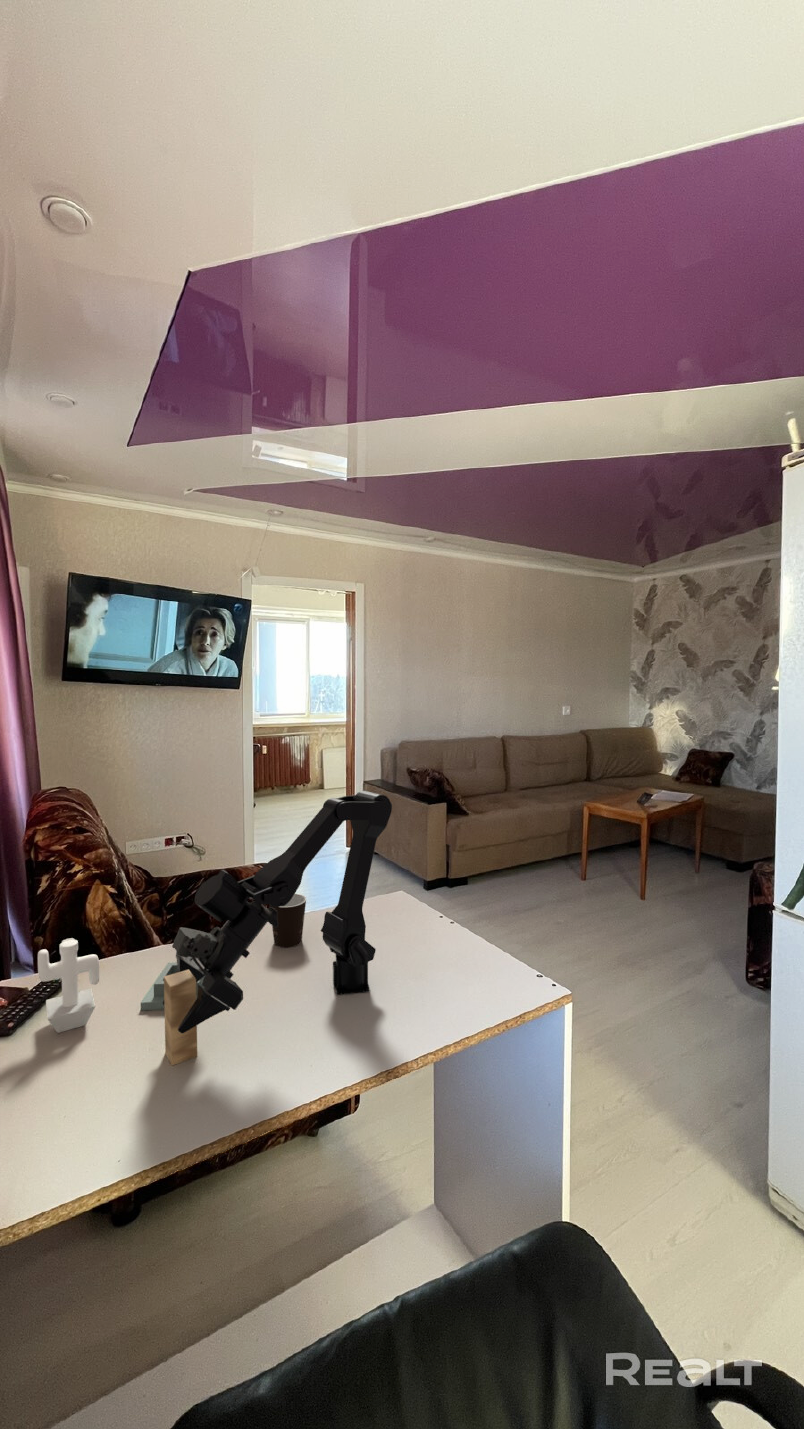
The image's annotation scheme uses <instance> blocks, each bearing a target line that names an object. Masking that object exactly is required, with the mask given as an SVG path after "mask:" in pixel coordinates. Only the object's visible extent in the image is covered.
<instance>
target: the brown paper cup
mask: <svg viewBox="0 0 804 1429" xmlns="http://www.w3.org/2000/svg"><path fill="white" fill-rule="evenodd" d="M268 905H269V904H268ZM306 905H307V897H306V896H305V895H303V894H300V893H295V894H294V896H293V897H292V899H291V900H290V902H288V903H287V904H286V905H285V906H280V907H273V906H271V905H269V908H271V907H272V908H274V909H275V910H276V911H277V912H278V913H277V919H278V927H274V926H273V925H271V927H272V936H273V944H274V945H275V946H276V947H279V948H285V949H286V948H293V947H296V946H298V945H300V944H301V943H302V940H303V932H304V930H303V929H304V923H305V913H306Z"/></svg>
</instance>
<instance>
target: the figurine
mask: <svg viewBox="0 0 804 1429" xmlns="http://www.w3.org/2000/svg"><path fill="white" fill-rule="evenodd" d="M78 941H79V940H77V939H75V938H73V937H71V938H66V939H63V940H61V943H60V944H59V955H60V960H59V961H57V962H54V963H53V962H52V963H50V957H49V956H50V954H49V951H48V950H47V949H46V948H45V949H40V950H39V951H38V952H37V973H38V979H39V981H41V982H43V983H44V982H50V981H53V980H54V981H55V980H58V979H61V994H62V995H61V996H57V997H52V998H49V999H48V998H47V999H46V1000H45V1006H46V1016H47V1021H48V1022H49V1024H50V1025H51V1026H52V1027H53V1029H54V1030H55V1031H56V1033H57V1034H60V1033H63V1032H65V1031H67V1032H68V1031H70V1030H73V1029H76V1028H80V1027H84V1026H86V1025H87V1024H88V1022H89V1019H90V1018H91V1015H92V1014H93V1012H94V1010H95V1008H96V1003H95V999H94V995H93V990H92V988H91V987H90V988H87V989H82V990H79V988H78V987H79V986H78V985H79V984H78V982H79V980H78V977H79V976H78V975H79V974H83V973H88V976H89V984H91V985H93V986H95V985H97V984H99V982H100V960H99V957H98V955H97V954H96V953H95V954H93V953H92V954H88V955H84V956H78V950H79V942H78Z"/></svg>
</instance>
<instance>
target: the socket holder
mask: <svg viewBox="0 0 804 1429" xmlns="http://www.w3.org/2000/svg"><path fill="white" fill-rule="evenodd" d="M176 971H177V961H176V962H174V961H173V962H167V963H166V965H165V967H164V968H163V969H162V970H161V972H160V973H159V975H158V976H157V977H156V979H155V980H154V982H153V984H152V985H151V987H150V988H149V990H148V991H147V992H146V994H145V995H144V997H143V998H142V1000H141V1001H140V1011H158V1010H162V1011H163V1010H164V1011H165V1006H164V1005H163V1000H164V976H167V975H171V974H174V973H176ZM204 977H205V976H204ZM204 977H203V978H202V979H200V980H199V981H198V982H197V983H196V999H197V997H198V984H199V985H200V986H202V987H203V985H202V983H203V980H204Z"/></svg>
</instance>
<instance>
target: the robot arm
mask: <svg viewBox="0 0 804 1429" xmlns="http://www.w3.org/2000/svg"><path fill="white" fill-rule="evenodd" d="M392 811H393V804H392V802H391V800H390V799H389V797H388V796H387V795H385V794H381V793H376V792H373V791H372V792H371V791H368V790H360V791H359V792H357V793H356V794H354V795H353V794H352V795H344V796H341V797H331V798H329V799H327V800H325V801H324V802H323V805H322V808H321V809H320V810H319V811H318V812H317V813H316V815H315V816H314V817H313V818H312V819H311V820H310V822H309V823H308V824H307V825H306V826H305V828H304V829H303V830H302V831H301V833H300V834H299V835H298V836H297V837H296V838H295V839H294V841H293V842H292V843H291V844H290V846H289V847H288V848H287V849H286V850H285V851H284V852H283V853H282V854H280V855H278V856H277V857H275V858H273V859H271V860H269V861H268V862H267V863H266V864H264V866H262V867H261V868H260V869H259V870H257V872H256V873H255V874H254V875H251V876H249V877H247V878H243V879H241V880H239V881H237V880H236V879H235V878H234V877H233V875H231V874H230V873H229V872H227V871H226V870H224V869H221V870H220V871H219V872H218V874H216V875H213V876H211V877H209V878H208V879H207V880H206V881H203V882H202V884H200V886H199V888H197V890H196V893H195V895H194V903H195V905H196V906H198V907H199V908H200V909H202V910H203V911H205V912H206V913H207V914H209V915H210V916H211V917H213V918H214V919H216V920H217V921H219V922H221V923H224V922H225V923H224V924H223V926H222V927H221V928H220V927H218V926H216V927H213V928H212V929H211V931H210V932H205V931H202V930H197V929H193V928H189V927H181V926H180V927H179V929H178V931H177V934H176V936H175V938H174V941H173V942H172V945H171V947H172V948H173V949H175V951H176V954H175V958H176V962H177V971H176V973H178V972H181V971H185V970H188V969H189V970H190V972H191V973H192V974H193V976H194V977H195V979H196V983H197V982H198V981H199V980H200V979H202V978H203V977H204V976H205V977H204V980H203V983H202V985H203V987H202V986H200V985H199V984H198V997H197V999H196V1001H195V1002H194V1004H193V1005H192V1007H191V1008H190V1010H189V1012H188V1013H187V1015H186V1016H185V1018H184V1019H183V1021H182V1022H181V1024H180V1026H179V1028H178V1031H179V1032H180V1033H185V1032H186V1031H188V1030H190V1029H191V1028H193V1027H195V1026H197V1027H198V1025H200V1024H201V1023H204V1022H205V1021H207V1020H209V1019H210V1018H212V1017H214V1016H216V1015H219V1014H220V1013H222V1012H224V1011H227V1012H229V1011H230V1010H231V1009H232V1010H237V1008H238V1007H239V1006H240V1004H241V1002H243V1000H244V990H243V989H242V988H241V987H240V986H239V985H238V984H237V982H236V981H235V980H233V979H232V977H233V976H234V973H233V972H232V971H231V970H232V969H233V968H234V966H236V964H237V962H238V961H239V960H240V959H241V957H244V958H245V959H247V958H248V956H249V955H250V952H249V951H248V948H249V947H250V946H251V945H252V943H253V942H254V940H255V939H256V938H257V936H258V935H259V934H260V933H261V932H262V931H263V929H264V927H265V926H266V925H267V924H268V923H269V925H271V926H272V925H273V926H274V927H278V919H277V913H278V912H277V911H276V910H275V909H274V908H272V907H271V908H270V907H268V908H267V907H266V906H264V905H271V906H273V907H280V906H285V905H286V904H287V903H288V902H290V900H291V899H292V897H293V896H294V894H296V892H297V891H298V889H299V887H300V886H301V884H302V880H303V876H304V875H303V874H304V872H305V871H306V868H307V867H308V866H309V865H310V863H311V862H312V861H314V860H313V859H314V858H315V857H316V856H317V855H318V853H320V851H321V850H322V849H323V847H324V846H325V845H326V844H327V843H328V841H329V840H330V839H331V837H332V836H333V835H334V834H335V832H336V831H337V830H338V828H340V826H341V825H342V824H343V823H344V822H345V821H350V826H351V830H352V838H351V843H350V845H349V846H350V848H349V851H348V852H349V853H348V858H347V862H346V866H345V870H344V876H343V880H342V884H341V890H340V892H339V893H340V894H339V897H338V898H339V899H338V903H337V905H336V907H335V908H334V909H333V910H332V911H325V913H324V921H323V924H322V927H321V929H320V932H321V933H322V941H323V942H324V944H325V945H326V946H327V947H328V948H329V950H330V952H331V953H333V954H335V960H334V961H332V985H333V987H334V988H335V992H336V994H337V995H349V994H358V993H359V994H360V993H369V992H370V985H369V962H371V961H373V960H374V958H375V954H376V951H377V950H376V949H377V948H375V947H374V946H373V945H372V944H371V943H370V942H368V941H367V940H365V939H366V930H367V929H366V927H367V926H366V925H367V924H366V921H365V916H364V913H363V906H364V902H365V901H364V900H365V896H366V892H367V886H368V883H369V878H370V872H371V869H372V864H373V859H374V858H373V857H374V855H375V850H376V844H377V840H378V838H379V837H380V835H381V834H382V833H383V832H384V830H385V829H387V826H388V823H389V821H390V818H391V814H392ZM249 898H250V899H251V900H252V901H251V902H248V899H249ZM163 1005H164V1000H163Z"/></svg>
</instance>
